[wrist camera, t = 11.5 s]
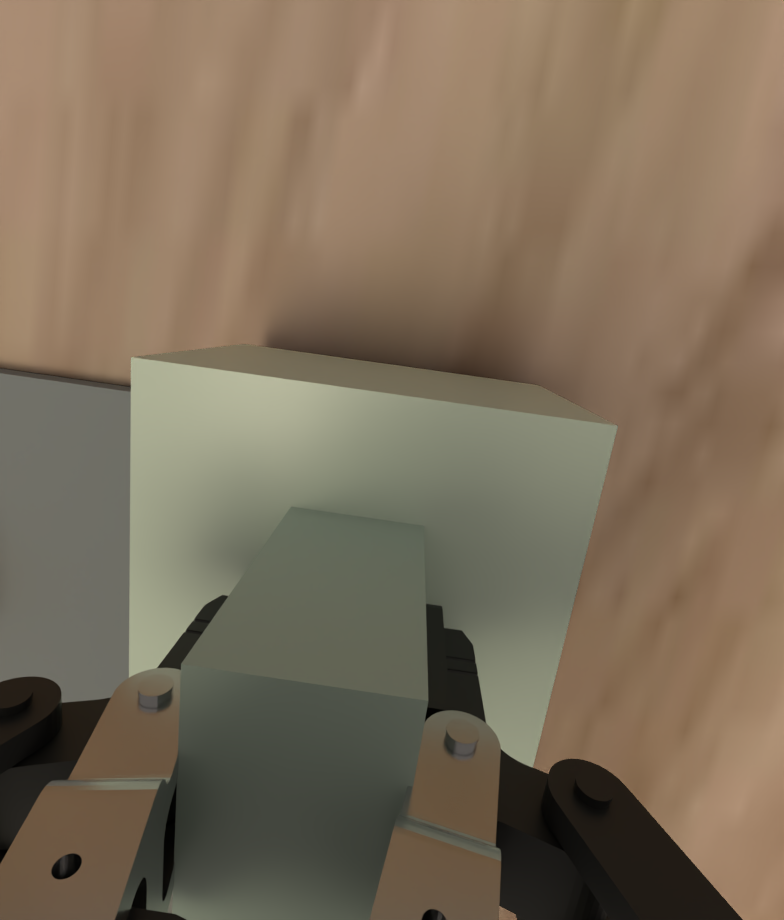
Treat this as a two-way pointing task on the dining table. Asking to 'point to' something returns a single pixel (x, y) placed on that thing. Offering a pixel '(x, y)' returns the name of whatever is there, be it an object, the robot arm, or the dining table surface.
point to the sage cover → (339, 596)
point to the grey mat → (64, 532)
